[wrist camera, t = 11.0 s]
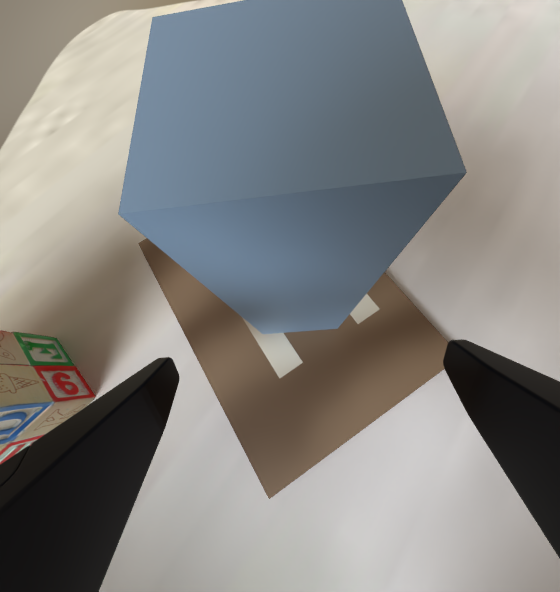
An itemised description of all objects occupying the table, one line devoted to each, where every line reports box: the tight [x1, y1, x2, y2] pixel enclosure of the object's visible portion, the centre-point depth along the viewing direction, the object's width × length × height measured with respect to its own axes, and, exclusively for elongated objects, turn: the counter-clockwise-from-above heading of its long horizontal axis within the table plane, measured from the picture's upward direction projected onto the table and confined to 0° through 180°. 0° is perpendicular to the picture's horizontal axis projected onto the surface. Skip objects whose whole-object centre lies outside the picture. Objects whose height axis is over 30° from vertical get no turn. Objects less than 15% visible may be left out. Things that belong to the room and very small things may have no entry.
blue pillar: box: [118, 0, 467, 334], centre depth 10 cm, size 5×5×13 cm
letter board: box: [138, 238, 448, 499], centre depth 17 cm, size 20×14×1 cm
